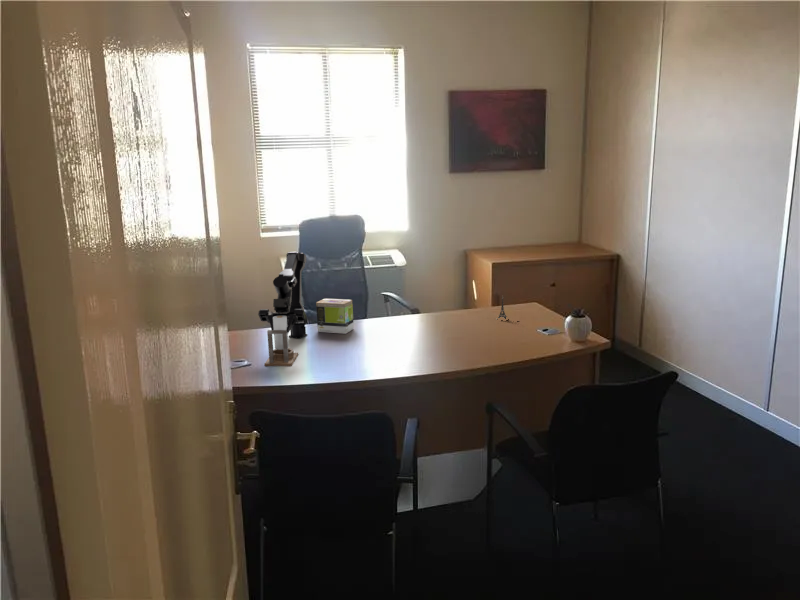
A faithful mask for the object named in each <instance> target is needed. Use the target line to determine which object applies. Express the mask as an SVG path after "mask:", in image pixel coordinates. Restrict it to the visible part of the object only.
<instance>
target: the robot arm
mask: <svg viewBox="0 0 800 600" xmlns="http://www.w3.org/2000/svg"><path fill="white" fill-rule="evenodd" d="M285 259H286V261H285V264H284V266H283V267H284V268H283V270H282V271H280V272H279V274H278V276H276V277H275V278H274V279H273V280H272V284H273V286H274V289H275V292H276V294H277V298H273V299H272V300H273V304H272V305H273V306H272V307H273V310H274V312H273V311H271V310H269V309H267V308H265V309H259V310H258V314H257V315H258V318H259V319H260V321H261V322H267V323H268V324H270V330H274V328H273V317H274V316H279V315H284V316H287V334H288V338H292V339H302V338H304V337H306V336H308V335H309V334H307V331H306V328H307V327H306V325H308V324H309V322H308V321H309V320H308V315H307V313H306V311H305V308H304V306H303V303H302V273H303V270H304V269H305V268H306V263H307V255H306V254H305V253H303V252H298V251H289V252H288V251H287V253H286V258H285ZM289 333H290V335H289Z"/></svg>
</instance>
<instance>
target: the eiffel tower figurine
mask: <svg viewBox="0 0 800 600" xmlns="http://www.w3.org/2000/svg"><path fill="white" fill-rule="evenodd" d="M500 308H501V309H500V312H499V314H498V316H499V317H498V318H500V317H503V318H505V319H506V317H508V316H507V315H506V313H505V308H504V296H502V297H501V307H500Z"/></svg>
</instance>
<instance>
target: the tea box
mask: <svg viewBox="0 0 800 600" xmlns="http://www.w3.org/2000/svg"><path fill="white" fill-rule="evenodd" d="M353 305H354V304H353V299H345V298H323V299H321V300H319V301H316V302H315V309H316V311H315V312H316V327H317V332H318V333H330V334H331V333H334V334H344V335H346V334H348V333H350V332H351V331H352V330H354V311H353V310H354V309H353V308H354V306H353Z"/></svg>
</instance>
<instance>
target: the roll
mask: <svg viewBox="0 0 800 600" xmlns="http://www.w3.org/2000/svg"><path fill="white" fill-rule="evenodd" d="M287 326H288V325H287V316H284V315H279V316H274V317H273V328H274V330H287ZM273 339H274V342H273V343H274V349H278V350H283V336H282V334H273ZM287 342H288V348H290V346H289V333H288V334H287Z"/></svg>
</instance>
